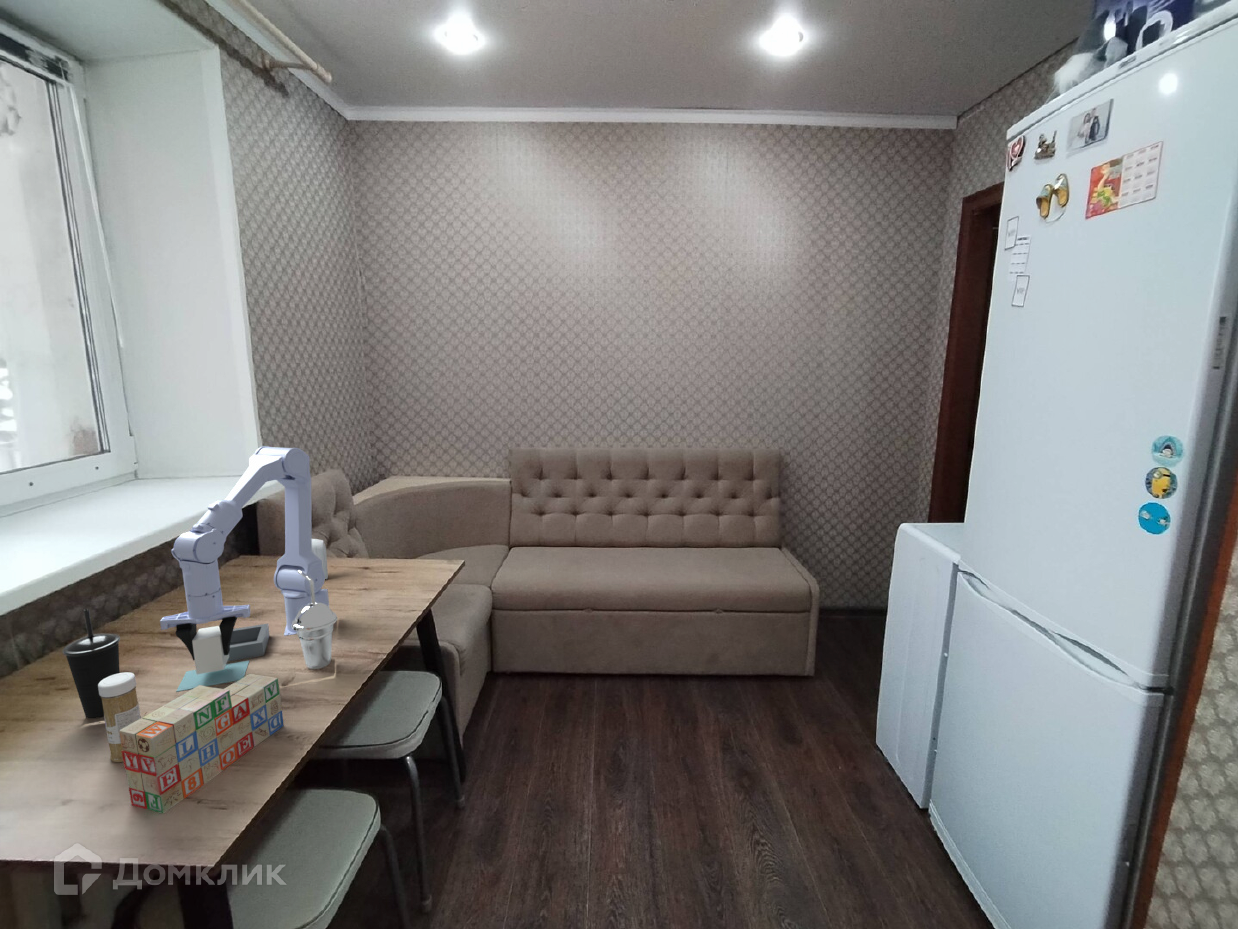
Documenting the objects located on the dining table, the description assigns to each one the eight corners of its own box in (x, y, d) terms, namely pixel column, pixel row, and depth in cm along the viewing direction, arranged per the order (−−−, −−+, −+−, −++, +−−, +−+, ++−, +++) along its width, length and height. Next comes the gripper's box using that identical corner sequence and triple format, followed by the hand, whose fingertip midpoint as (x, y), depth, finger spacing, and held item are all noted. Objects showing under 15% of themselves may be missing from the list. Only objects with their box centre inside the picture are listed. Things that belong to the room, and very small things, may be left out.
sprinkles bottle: (107, 755, 96) (94, 679, 94) (142, 741, 100) (131, 668, 97) (113, 767, 93) (100, 689, 91) (149, 753, 97) (138, 677, 94)
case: (269, 637, 137) (268, 623, 136) (264, 657, 128) (262, 642, 127) (207, 647, 132) (205, 633, 131) (197, 669, 123) (195, 653, 122)
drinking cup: (68, 730, 103) (49, 622, 99) (83, 707, 109) (65, 605, 106) (124, 718, 106) (107, 613, 102) (135, 697, 113) (119, 598, 109)
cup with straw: (294, 680, 119) (284, 586, 115) (297, 659, 127) (288, 571, 123) (341, 671, 122) (333, 579, 119) (341, 651, 130) (333, 565, 127)
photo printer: (329, 575, 175) (325, 535, 173) (327, 580, 171) (323, 539, 169) (290, 579, 172) (286, 539, 170) (287, 585, 168) (283, 543, 166)
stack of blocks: (256, 720, 106) (248, 656, 103) (284, 726, 104) (277, 661, 102) (130, 806, 85) (117, 729, 83) (162, 815, 84) (150, 737, 82)
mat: (249, 663, 125) (249, 660, 125) (243, 681, 118) (243, 678, 118) (186, 674, 121) (186, 671, 121) (176, 694, 114) (176, 691, 113)
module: (229, 656, 123) (225, 624, 122) (223, 669, 117) (219, 636, 116) (203, 661, 121) (199, 628, 120) (196, 674, 116) (192, 640, 114)
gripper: (151, 605, 110) (161, 672, 112) (243, 592, 115) (250, 657, 118) (162, 591, 116) (171, 655, 118) (248, 580, 122) (255, 642, 124)
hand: (211, 655), depth 119 cm, fingers closed on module, 4 cm apart
